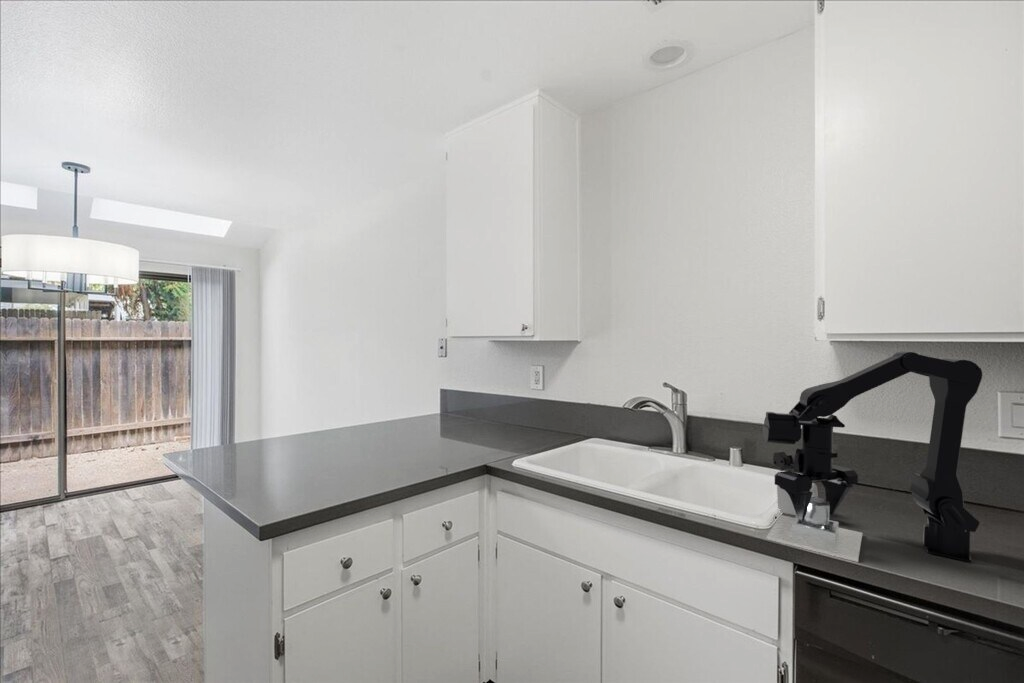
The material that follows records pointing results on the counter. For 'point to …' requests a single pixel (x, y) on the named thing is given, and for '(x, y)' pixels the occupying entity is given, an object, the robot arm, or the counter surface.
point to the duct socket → (817, 537)
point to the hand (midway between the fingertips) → (815, 516)
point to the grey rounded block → (786, 502)
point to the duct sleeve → (817, 513)
